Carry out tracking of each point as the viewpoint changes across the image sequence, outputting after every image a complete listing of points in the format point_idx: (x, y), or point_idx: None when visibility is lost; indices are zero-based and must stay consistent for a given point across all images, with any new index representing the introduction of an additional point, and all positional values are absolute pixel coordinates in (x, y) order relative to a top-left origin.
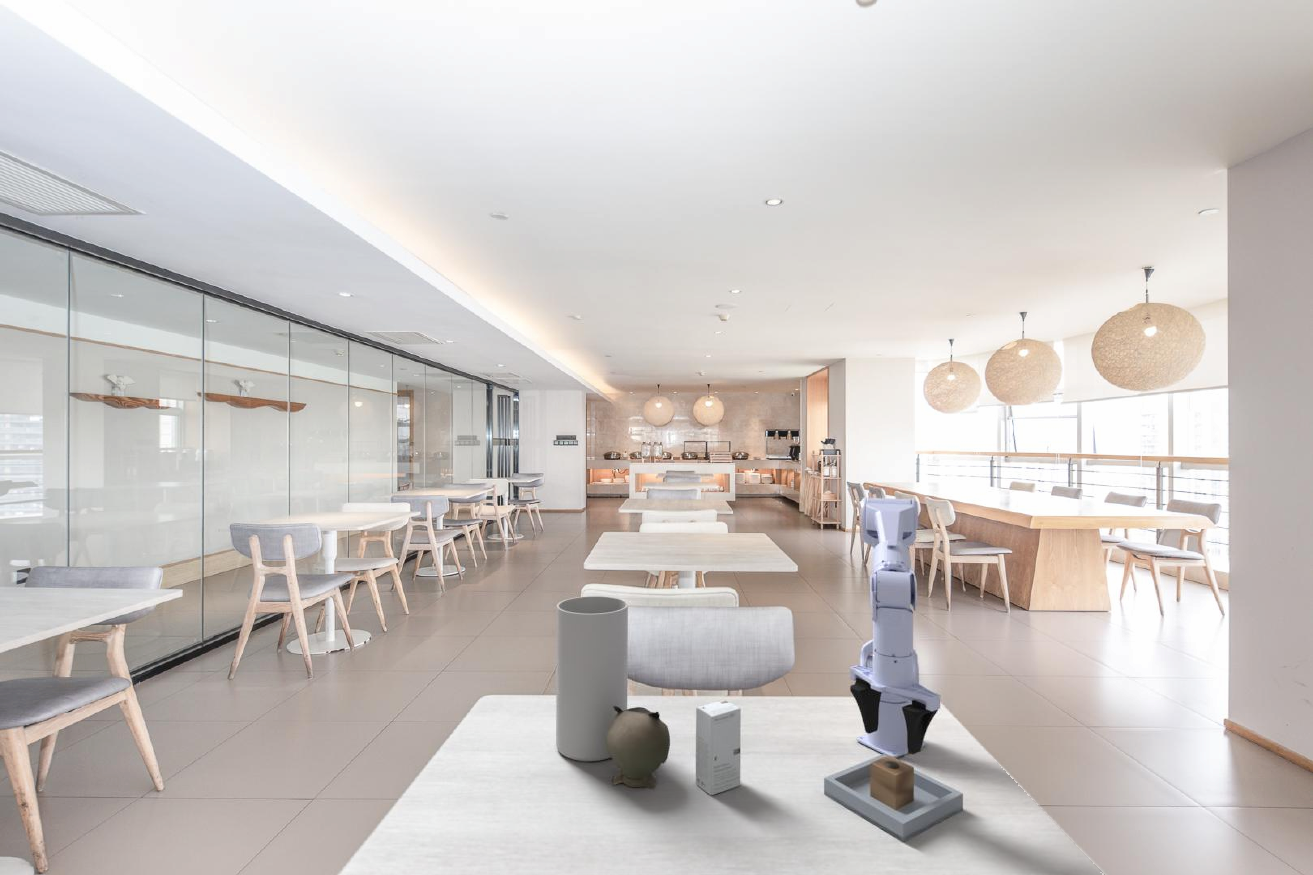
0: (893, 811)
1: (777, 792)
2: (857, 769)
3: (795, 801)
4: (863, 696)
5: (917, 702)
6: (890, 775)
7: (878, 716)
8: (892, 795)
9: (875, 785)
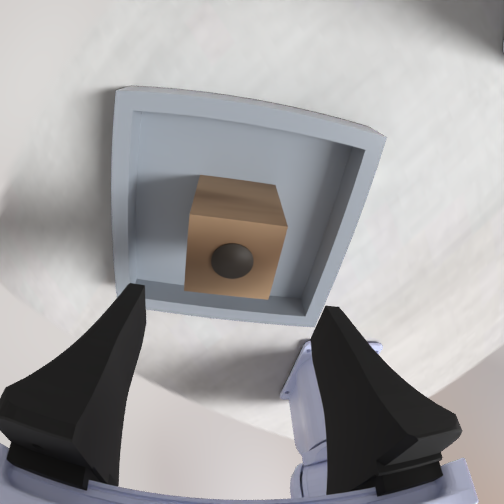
0: (199, 165)
1: (446, 67)
2: (336, 236)
3: (403, 55)
4: (387, 424)
5: (52, 477)
6: (209, 212)
7: (318, 382)
8: (206, 188)
9: (262, 197)
